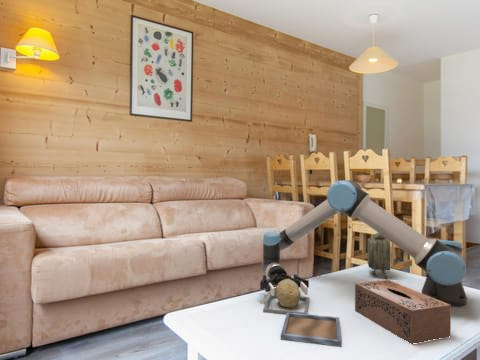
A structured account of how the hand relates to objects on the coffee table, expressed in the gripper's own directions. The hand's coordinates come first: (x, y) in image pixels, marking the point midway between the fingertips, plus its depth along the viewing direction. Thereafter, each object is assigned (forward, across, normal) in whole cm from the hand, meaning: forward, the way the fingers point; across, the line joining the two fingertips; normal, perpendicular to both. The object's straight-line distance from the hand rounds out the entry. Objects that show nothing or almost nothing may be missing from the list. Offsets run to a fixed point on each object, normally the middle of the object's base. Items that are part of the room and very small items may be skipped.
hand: (290, 291), depth 124 cm
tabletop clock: (-37, -53, -7) cm, 65 cm away
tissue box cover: (+14, -32, -7) cm, 36 cm away
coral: (-4, 0, -7) cm, 8 cm away
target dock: (+16, -2, -6) cm, 18 cm away
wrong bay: (-4, 0, -6) cm, 8 cm away
